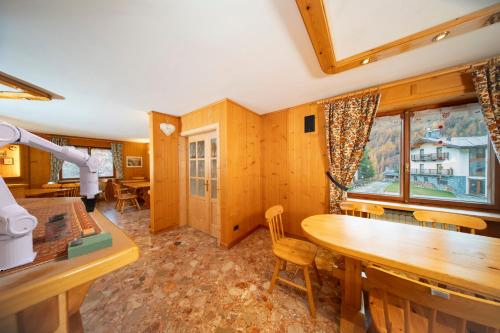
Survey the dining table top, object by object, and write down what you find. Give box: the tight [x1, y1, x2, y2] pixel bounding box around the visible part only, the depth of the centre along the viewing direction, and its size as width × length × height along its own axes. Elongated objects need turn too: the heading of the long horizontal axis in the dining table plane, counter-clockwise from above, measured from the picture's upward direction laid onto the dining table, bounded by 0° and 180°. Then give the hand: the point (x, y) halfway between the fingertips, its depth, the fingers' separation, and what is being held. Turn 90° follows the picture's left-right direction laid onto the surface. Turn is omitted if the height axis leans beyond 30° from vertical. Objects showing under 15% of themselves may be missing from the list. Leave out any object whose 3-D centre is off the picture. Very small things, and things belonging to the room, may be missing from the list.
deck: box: [67, 230, 113, 260], centre depth 59 cm, size 11×13×4 cm
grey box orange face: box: [80, 227, 99, 239], centre depth 62 cm, size 4×7×5 cm, turn 48°
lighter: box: [43, 212, 72, 243], centre depth 67 cm, size 8×3×10 cm, turn 179°
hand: (90, 212), depth 69 cm, fingers closed
